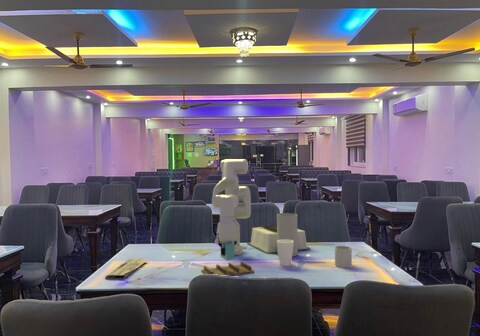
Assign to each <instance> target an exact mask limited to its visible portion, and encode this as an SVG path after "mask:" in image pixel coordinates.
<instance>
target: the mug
mask: <svg viewBox="0 0 480 336" xmlns="http://www.w3.org/2000/svg"><path fill="white" fill-rule="evenodd" d="M352 251H353V250H352V247H351V246H348V245H336V246H334V266H335V267H338V268H343V269H344V268H345V269H346V268H347V269H348V268H351V267H352V266H353V265H352V264H353V263H352V262H353V261H352V259H353V258H352Z"/></svg>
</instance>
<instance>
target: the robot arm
mask: <svg viewBox="0 0 480 336" xmlns="http://www.w3.org/2000/svg"><path fill="white" fill-rule="evenodd" d="M219 167H220V171H221V180H219V182H218V183H217V184H216V185H215V186H214V187H213V189H212V197H211V204H212V207H213V208H215V209H219V222H218V223H217V228H216V238H215V239H214V243H215V244H216V245H218V246H219V247H220V255H221V254H222V255H223V256H225V248H224V244H225V242H231V243H233V244H234V256H238V255H242V254H243V250H247V249H248V246H247V245H245V246H244V245H241V235H240V234H241V230H240V229H241V227H240V223H239V222H238V221H237V219H249V218H250V217H251V214H252V211H251V210H252V209H251V208H252V207H251V205H252V201H251V198H252V197H251V190H250V187H249V186H246V185H240V184H239V177H238V175H245V174H247V173H248V170H249V162H248V160H247V159H245V158H239V159H238V158H236V159H235V158H234V159H233V158H227V159H222V160H221V161H220V163H219ZM223 191H224V193H225V194H220V193H222V192H223ZM239 202H241V203H239Z"/></svg>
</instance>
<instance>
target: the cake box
mask: <svg viewBox="0 0 480 336" xmlns="http://www.w3.org/2000/svg"><path fill="white" fill-rule="evenodd" d="M297 235H298V252H299V251H308V250H310V249H311V247H308V245H307V244H308V243H307V239H306V231H305V230H302V229H299V228H297ZM247 245H248V246H251V247H253V248H254V249H257V250H259V251H260V252H263V253H265V254H271V253H272V254H277V224H276V225H264V226H259V227H256V226H254V227H252V229H251V237H250V242H247Z"/></svg>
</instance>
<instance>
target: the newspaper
mask: <svg viewBox="0 0 480 336" xmlns="http://www.w3.org/2000/svg"><path fill="white" fill-rule="evenodd" d="M147 261H148V259H145V258H127V260H125V261H124V262H123V263H121V264H120V265H119V266H118V267H116V268H115V269H113V270H112V271H111V272H110V273H108V274H107V275H105V276H104V278H105V279H114V278H115V277H117V276H121V277H122V276H123V278H122V279H125V278H127V277H128V276H130V274H132V273H133V272H134V271H135V270H136V269H137V268H140V267H141V266H142V265H143V264H145V263H146V262H147Z"/></svg>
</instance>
